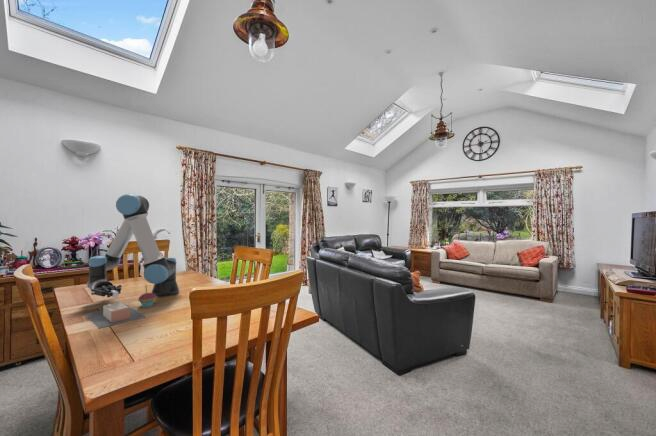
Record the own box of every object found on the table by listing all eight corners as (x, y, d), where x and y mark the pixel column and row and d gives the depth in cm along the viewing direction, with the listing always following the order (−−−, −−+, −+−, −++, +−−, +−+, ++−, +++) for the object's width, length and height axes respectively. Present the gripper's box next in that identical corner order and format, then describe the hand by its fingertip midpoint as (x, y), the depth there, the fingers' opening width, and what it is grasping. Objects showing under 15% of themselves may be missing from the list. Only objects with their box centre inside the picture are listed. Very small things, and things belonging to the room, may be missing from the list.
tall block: (103, 305, 133) (112, 311, 125) (120, 302, 139) (130, 307, 130) (103, 315, 133) (112, 322, 125) (120, 311, 139) (130, 318, 130)
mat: (83, 314, 135) (83, 313, 135) (126, 305, 150) (126, 304, 150) (98, 329, 118) (98, 328, 118) (145, 317, 133) (145, 316, 133)
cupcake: (135, 307, 147) (135, 285, 147) (151, 302, 155) (151, 281, 155) (143, 309, 143) (144, 287, 143) (160, 305, 151) (160, 283, 151)
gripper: (117, 291, 151) (132, 299, 137) (86, 296, 141) (99, 306, 126) (117, 278, 151) (132, 285, 137) (86, 282, 141) (99, 290, 126)
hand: (116, 295), depth 132 cm, fingers closed
